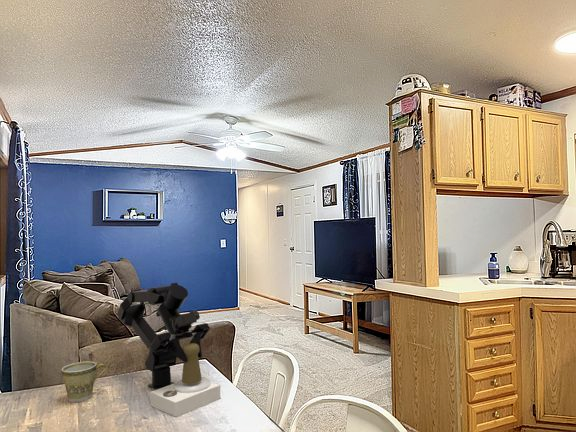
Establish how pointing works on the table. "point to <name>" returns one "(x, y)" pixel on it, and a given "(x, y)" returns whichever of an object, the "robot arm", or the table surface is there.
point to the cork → (191, 364)
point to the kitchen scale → (184, 396)
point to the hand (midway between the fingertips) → (193, 359)
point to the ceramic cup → (80, 380)
